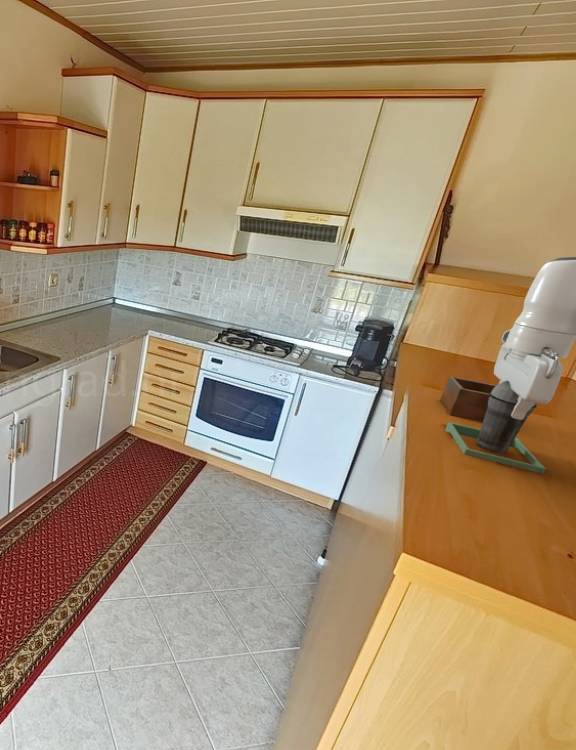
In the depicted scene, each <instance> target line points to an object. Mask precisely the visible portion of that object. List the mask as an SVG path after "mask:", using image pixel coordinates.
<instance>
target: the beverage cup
mask: <svg viewBox="0 0 576 750" xmlns="http://www.w3.org/2000/svg"><path fill="white" fill-rule="evenodd" d="M489 396H490V397H489V400H488V408H487V411H486V414H485V417H484V421H483V422H482V424H481V427H480V429H481V430H480V433H479V437H478V439H476V446H477V447H479V448H480V449H483V450H485V451H487V452H491V453H495V454H500V455H502V454H503V455H504V454H506V452H508V450H509V449H510V448H511V447H510V445H511V444H512V442H513V440H514V439H515V438H517V436H518V434H519V432H520V430H521V429H522V427H523V426H524V424H525V422H526V420H527V419H528V417H530V416H531V415H532V413H533V412H534V410H535V409H536V408H537V405H538V403H535V404H534V406H533V407H532V408H531V409H530V410H529V411H528V412H527V413H526V415H525V417H524V419H522V420H519V419H515V418H513V417H512V416H511V415H510V412H511V409H512V407H515V406H516V404H517V402H518V398H519V395H518V394H517V393H515V392H514V391H513V390H512V389H511V386H510V382H509V381H504V382H502V383H500V384H499V383H498V384H497V386H496V387H495V388H494V389H493V390H492V392H491V393H490V394H489Z"/></svg>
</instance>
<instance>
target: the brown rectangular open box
mask: <svg viewBox="0 0 576 750" xmlns="http://www.w3.org/2000/svg"><path fill="white" fill-rule="evenodd" d="M497 385H498V384H497ZM497 385H496V384H491V383H488V382H487V383H486V382H481V381H476V380H473V379H468V378H467V379H466V378H462V377H456V376H450V375H449V376H448V379H447V382H446V384H445V387H444V388H443V391H442V394H441V396H440V399H439V401H440V402H441V404H442V405H443V407H444V408H445V410H446V411H447V413H448V414H449V416H454V417H457V418H462V419H467V420H470V421H476V422H480V423H483V421H484V417H485V414H486V411H487V408H488V400H489V397H490V396H489V394H490V393H491V392H492V390H493V389H494V388H495V387H496V386H497Z"/></svg>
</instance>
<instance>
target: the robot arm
mask: <svg viewBox="0 0 576 750" xmlns="http://www.w3.org/2000/svg"><path fill="white" fill-rule="evenodd" d="M575 340H576V256H567V257H563V256H562V257H557V258H554V259H551V260H549V261H547V262H546V263H545V264H544V265H543V266H542V267H541V268H540V269H539V270H538V272H537V274H536V275H535V277H534V279H533V281H532V282H531V285H530V287H529V288H528V291H527V293H526V295H525V297H524V302H523V309H522V311H521V313H520V315H519V316H518V317H517V318H516V320H515V321H514V323H513V325H512V327H511V329H508V330H506V331H504V332H503V335H502V337H501V342H502V343H503V344H502V345H501V347H500V349H499V352H498V355H497V358H496V360H495V364H494V369H493V375H494V376H495V377H497V378H498V379H499V382H498V384H500V383H502V382H504V381H509V382H510V386H511V389H512V390H513V391H514V392H515V393H517V394H518V395H519V398H518V402H517V404H516V406H515V407H512V409H511V412H510V415H511V416H512V417H513V418H515V419H519V420H522V419H524V417H525V415H526V413H527V412H528V411H529V410H530V409H531V408H532V407H533V406H534V404H535V403H537V404H542V405H547V404H549V403H550V402H551V401H552V399H553V397H554V395H555V393H556V390H557V388H558V385H559V383H560V380H561V377H562V375H563V371H564V366H563V364H562V363H561V362H560V360H563V359H566V358H567V357H568V356H569V354H570V351H571V349H572V347H573V345H574V343H575Z"/></svg>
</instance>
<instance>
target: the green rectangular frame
mask: <svg viewBox="0 0 576 750" xmlns="http://www.w3.org/2000/svg"><path fill="white" fill-rule="evenodd" d="M480 430H481V428H476V427H471V426H468V425H463V424H459V423H456V422H450V421H448V422H447V424H446V427H445V430H444V432H447V433H450V434H451V436H452V438H453V439H454V441H455V442H456V444H457V445H458V447H459V449H460V451H461V452H462V454H463V455H466V456H470V457H473V458H478V459H482V460H487V461H489V462H494V463H498V464H502V465H505V466H510V467H513V468H517V469H522V470H526V471H529V472H533V473H538V474H541V475H544V474H545V473H546V470H547V468H546V467H545V466H544V465H543V464H542V462H540V461H539V460H538V459H537V457H536V456H534V454H533V453H532V452H531V451H530V450H529V449H528V448H527V447H526V446H525V445H524V444H523V443H522V441H521V440H520V439H519V438H518V437H515V439H514V440H513V442H512V444H511V445H510V447H509V448H513V449H514V448H515V449H518V451H519V452H520V453H521V454H522V455H523V457H525V459H526V460H527V461H528V462H529V463H527V462H523V461H519V460H516V459H512V458H507V457H504V456H499V455H495V454H492V453H486V452H482V451H479V450H475V449H471V448H469V447H468V446H467V444H466V442H465V441H464V440H463V438H462V436H464V437H468V438H470V439H471V438H472V439H476V440H478V437H479V433H480Z"/></svg>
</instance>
